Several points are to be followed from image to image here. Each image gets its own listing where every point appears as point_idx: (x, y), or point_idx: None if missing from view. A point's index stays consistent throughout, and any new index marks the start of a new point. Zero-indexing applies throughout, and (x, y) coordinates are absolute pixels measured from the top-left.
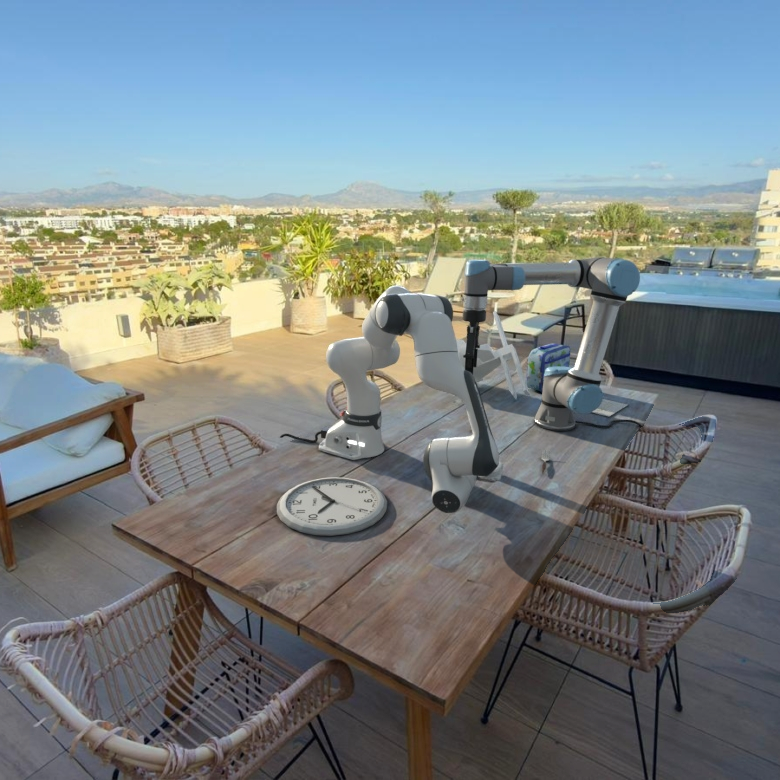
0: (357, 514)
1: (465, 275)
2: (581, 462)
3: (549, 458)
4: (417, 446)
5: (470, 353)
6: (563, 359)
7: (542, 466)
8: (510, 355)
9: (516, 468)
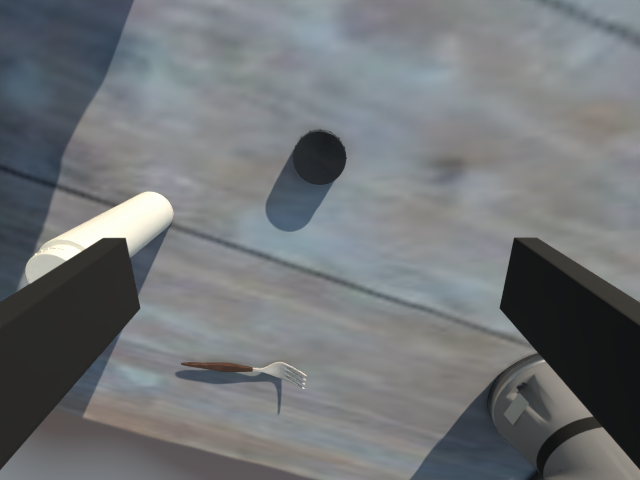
0: None
1: None
2: (292, 433)
3: (282, 378)
4: None
5: (624, 334)
6: None
7: (218, 365)
8: None
9: (200, 306)
